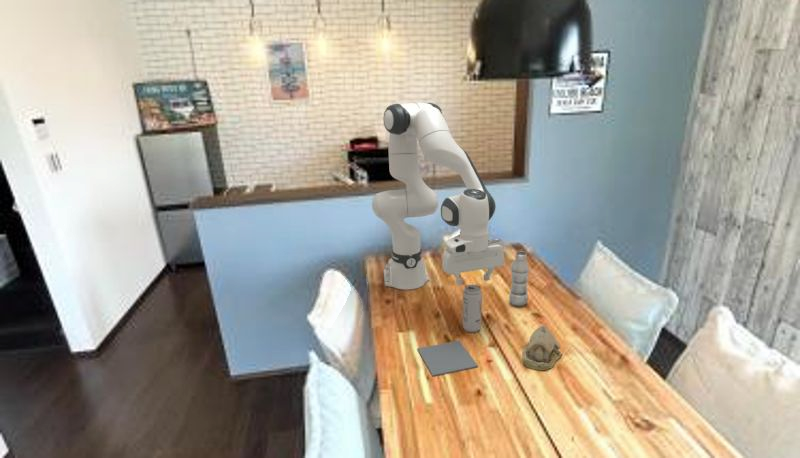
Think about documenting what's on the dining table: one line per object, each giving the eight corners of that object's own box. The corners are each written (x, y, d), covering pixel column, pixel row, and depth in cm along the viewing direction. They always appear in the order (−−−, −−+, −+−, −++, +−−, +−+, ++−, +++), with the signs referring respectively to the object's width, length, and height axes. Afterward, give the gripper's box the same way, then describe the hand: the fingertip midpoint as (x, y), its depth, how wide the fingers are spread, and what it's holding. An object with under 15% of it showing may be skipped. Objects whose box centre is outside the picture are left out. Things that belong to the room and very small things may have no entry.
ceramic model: (526, 341, 146) (528, 313, 143) (563, 349, 142) (566, 320, 138) (517, 366, 134) (519, 336, 131) (557, 375, 130) (560, 344, 126)
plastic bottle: (531, 306, 167) (534, 254, 161) (515, 309, 165) (518, 258, 158) (520, 298, 173) (523, 248, 166) (505, 302, 170) (507, 251, 164)
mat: (417, 349, 143) (417, 348, 143) (459, 341, 147) (459, 340, 147) (432, 376, 130) (432, 375, 130) (478, 367, 134) (478, 365, 134)
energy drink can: (480, 334, 150) (481, 292, 146) (461, 332, 152) (462, 291, 147) (481, 324, 156) (482, 284, 151) (463, 323, 157) (464, 283, 152)
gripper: (499, 234, 149) (498, 273, 154) (440, 242, 144) (440, 282, 148) (508, 240, 143) (507, 281, 148) (447, 248, 138) (447, 290, 143)
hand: (473, 282), depth 148 cm, fingers open, 8 cm apart
